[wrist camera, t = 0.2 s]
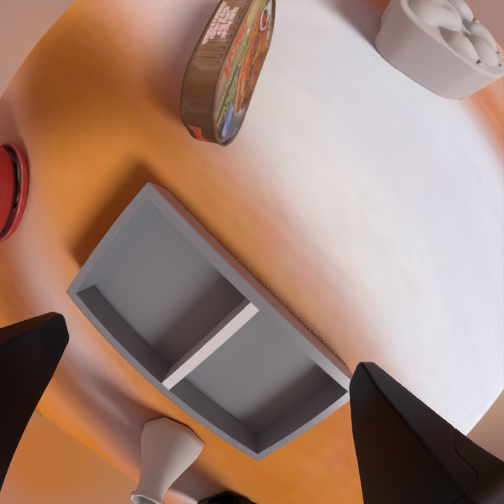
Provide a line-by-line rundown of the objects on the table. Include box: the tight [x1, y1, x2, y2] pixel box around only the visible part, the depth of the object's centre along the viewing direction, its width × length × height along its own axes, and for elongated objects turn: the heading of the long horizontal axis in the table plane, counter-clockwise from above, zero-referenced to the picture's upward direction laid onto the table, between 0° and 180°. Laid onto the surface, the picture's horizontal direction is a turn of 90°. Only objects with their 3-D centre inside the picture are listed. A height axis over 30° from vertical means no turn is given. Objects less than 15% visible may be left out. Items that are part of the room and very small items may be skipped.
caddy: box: [66, 182, 353, 461], centre depth 21 cm, size 12×22×4 cm, turn 45°
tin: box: [180, 0, 276, 146], centre depth 17 cm, size 15×3×8 cm, turn 164°
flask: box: [129, 417, 205, 504], centre depth 19 cm, size 7×7×10 cm
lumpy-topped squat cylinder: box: [374, 0, 504, 100], centre depth 15 cm, size 10×13×9 cm
